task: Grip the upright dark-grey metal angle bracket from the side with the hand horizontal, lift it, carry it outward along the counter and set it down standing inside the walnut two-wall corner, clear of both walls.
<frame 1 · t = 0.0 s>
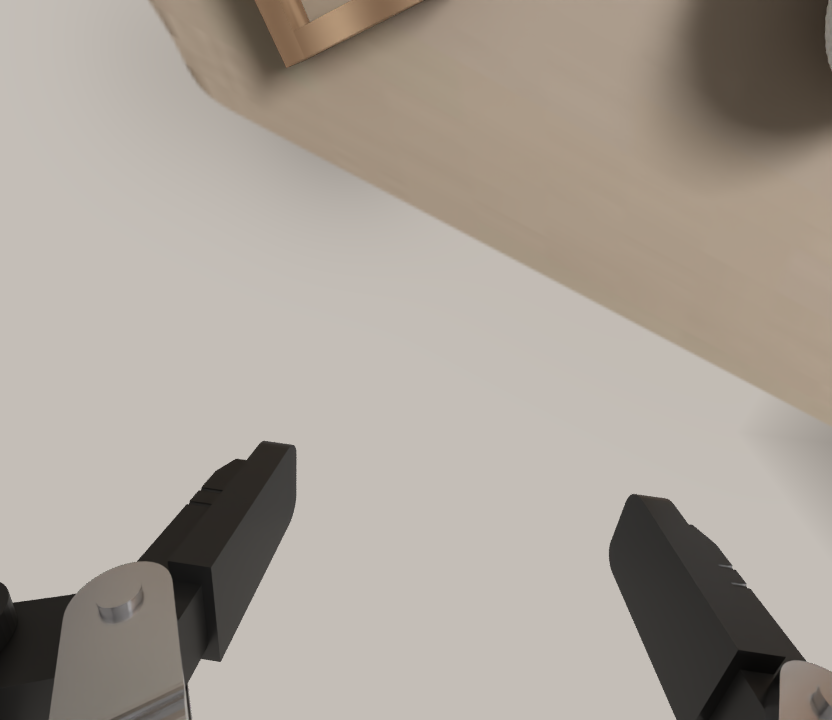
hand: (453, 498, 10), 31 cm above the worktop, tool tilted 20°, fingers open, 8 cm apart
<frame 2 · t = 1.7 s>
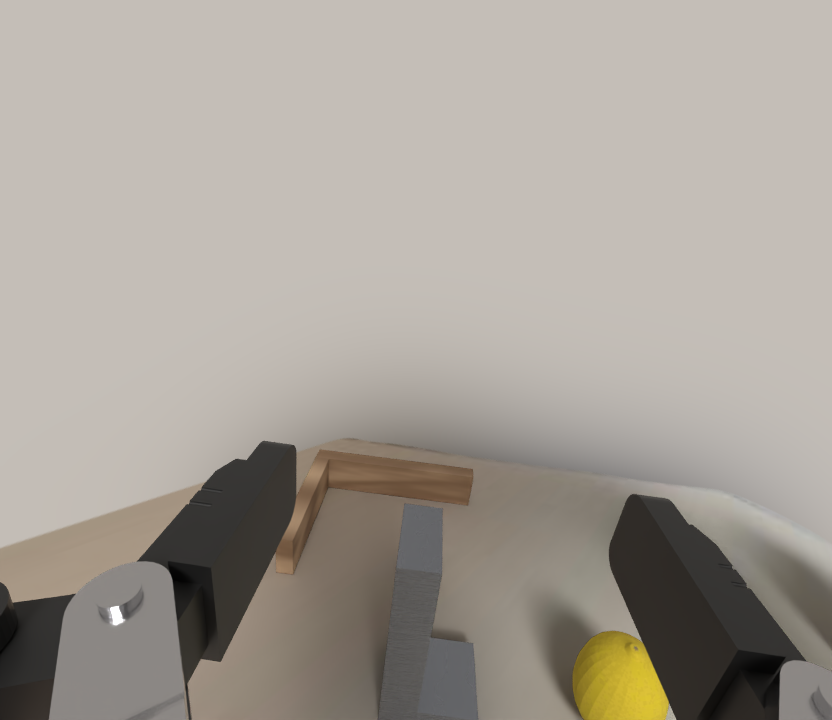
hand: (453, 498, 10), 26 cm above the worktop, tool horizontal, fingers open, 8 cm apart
wooden l-shaped block: (413, 534, 43), on the worktop
angle bracket: (400, 682, 30), on the worktop
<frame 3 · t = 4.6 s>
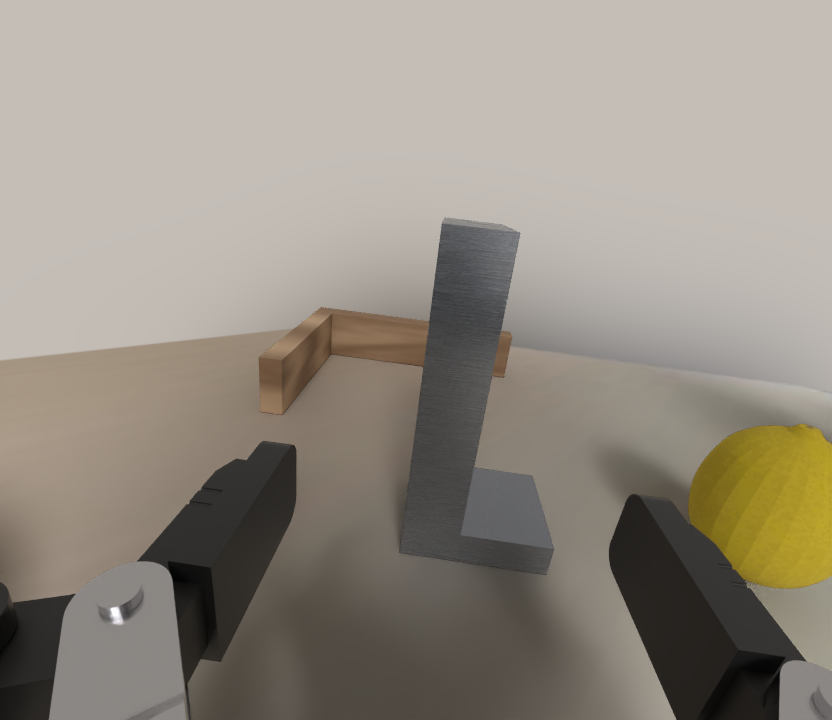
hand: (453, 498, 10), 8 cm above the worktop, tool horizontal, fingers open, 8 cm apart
wooden l-shaped block: (438, 394, 33), on the worktop
angle bracket: (430, 516, 20), on the worktop
lemon: (729, 577, 19), on the worktop
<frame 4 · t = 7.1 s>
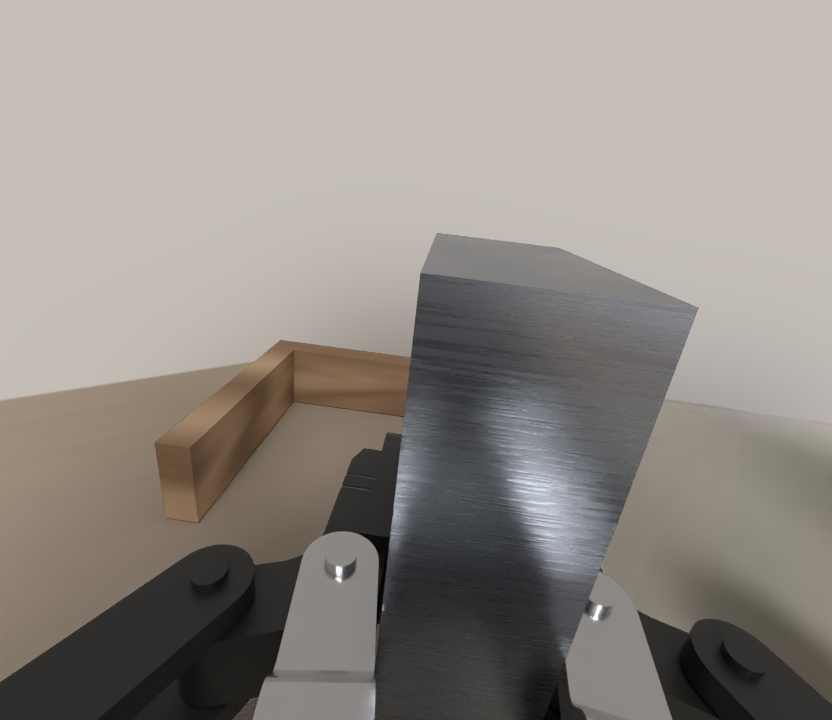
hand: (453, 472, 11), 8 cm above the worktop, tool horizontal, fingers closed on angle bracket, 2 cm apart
wooden l-shaped block: (434, 467, 24), on the worktop
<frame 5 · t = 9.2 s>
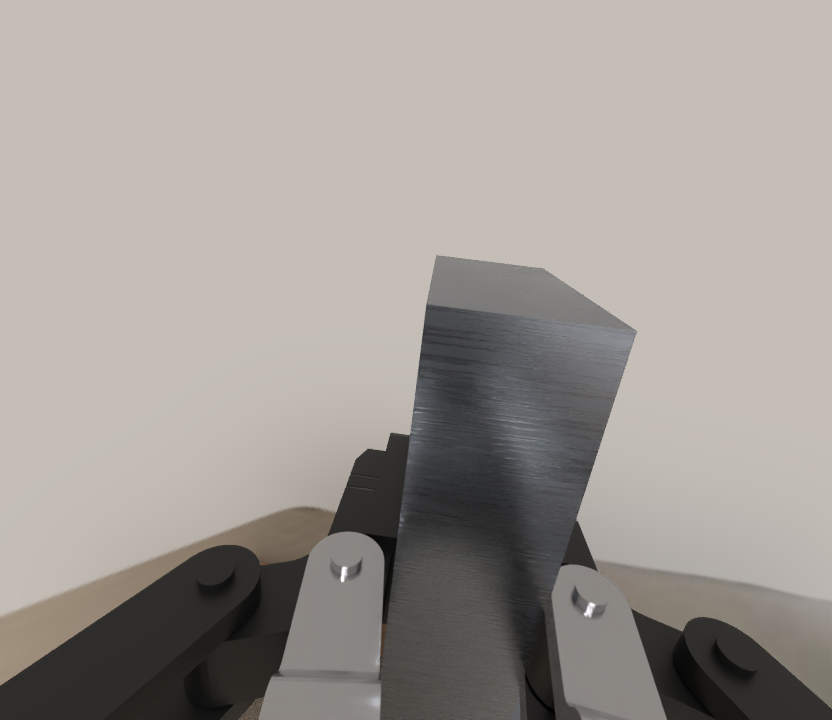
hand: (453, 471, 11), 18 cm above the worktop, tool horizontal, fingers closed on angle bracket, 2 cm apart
when the fingers open (9 cm above the worktop, at t = 11.4 s): angle bracket stays where it is, on the worktop.
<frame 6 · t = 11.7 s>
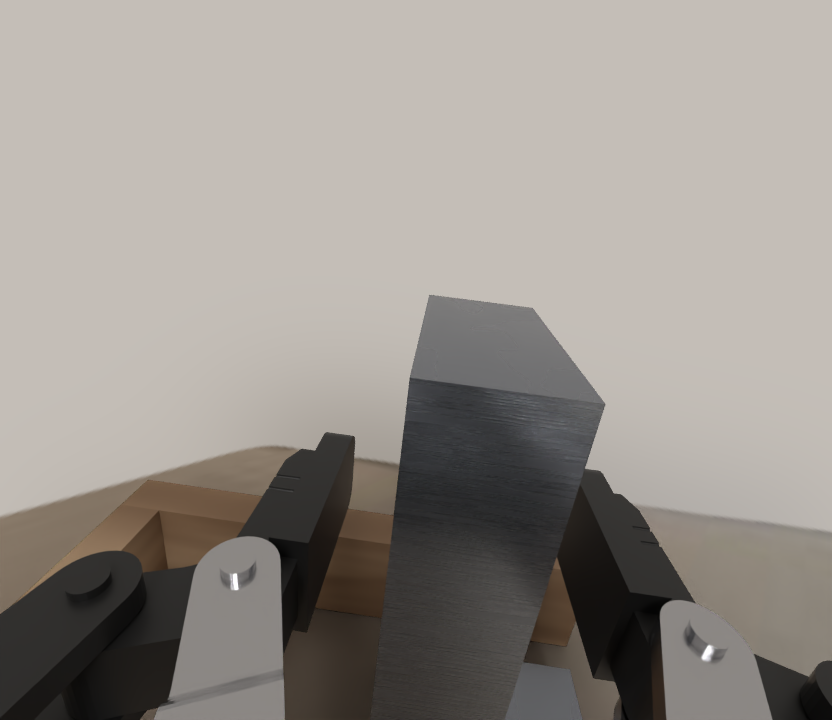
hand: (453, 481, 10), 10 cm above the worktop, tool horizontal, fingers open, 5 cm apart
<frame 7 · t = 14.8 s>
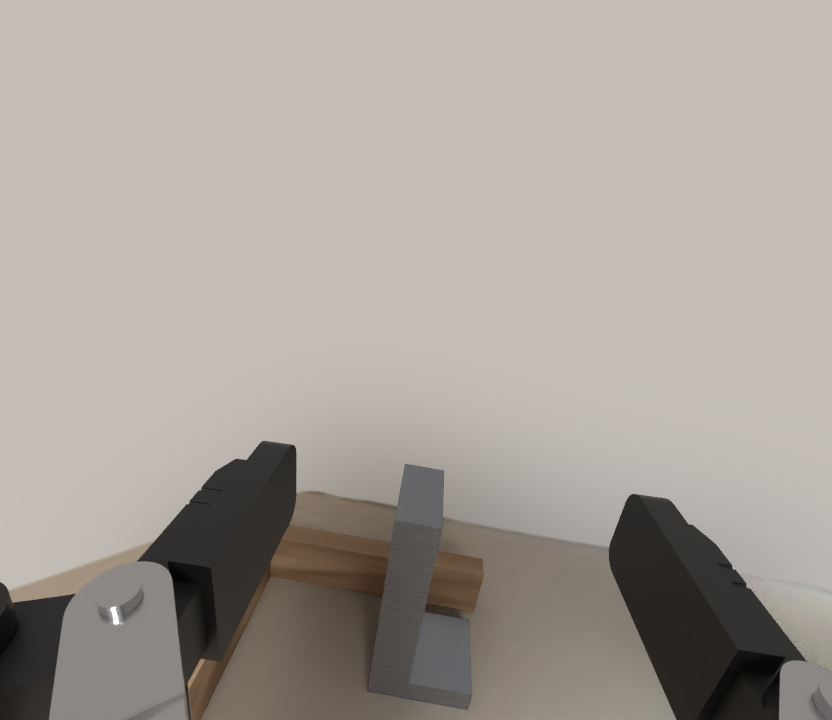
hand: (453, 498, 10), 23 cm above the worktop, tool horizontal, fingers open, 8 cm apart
wooden l-shaped block: (389, 671, 27), on the worktop
angle bracket: (391, 654, 29), on the worktop
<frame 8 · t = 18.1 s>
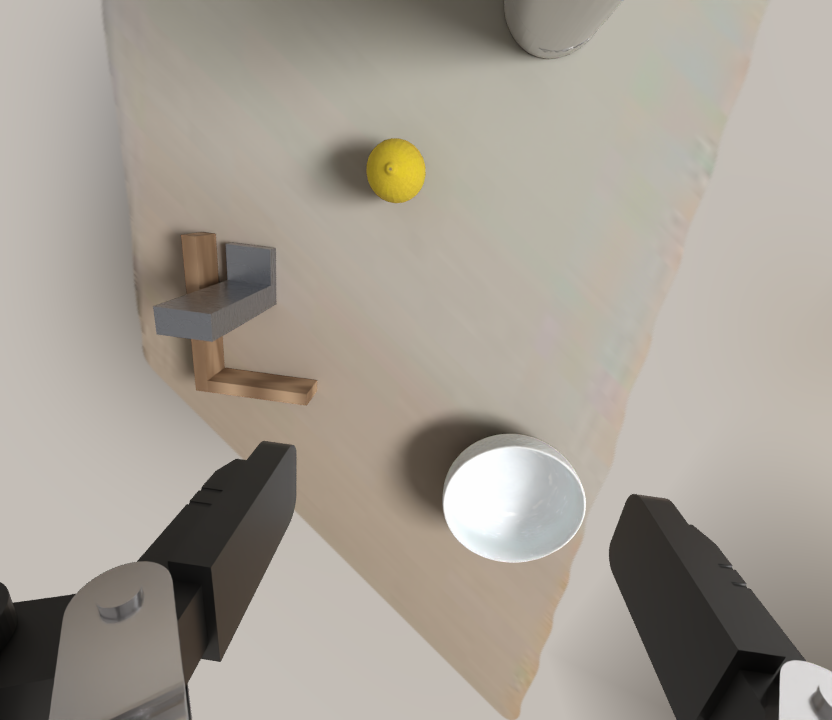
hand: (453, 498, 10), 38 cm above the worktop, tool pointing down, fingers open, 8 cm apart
wooden l-shaped block: (264, 292, 48), on the worktop
angle bracket: (255, 291, 48), on the worktop
lemon: (401, 174, 43), on the worktop
cereal bowl: (505, 471, 55), on the worktop
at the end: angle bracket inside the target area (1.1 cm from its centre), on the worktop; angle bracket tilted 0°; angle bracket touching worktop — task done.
